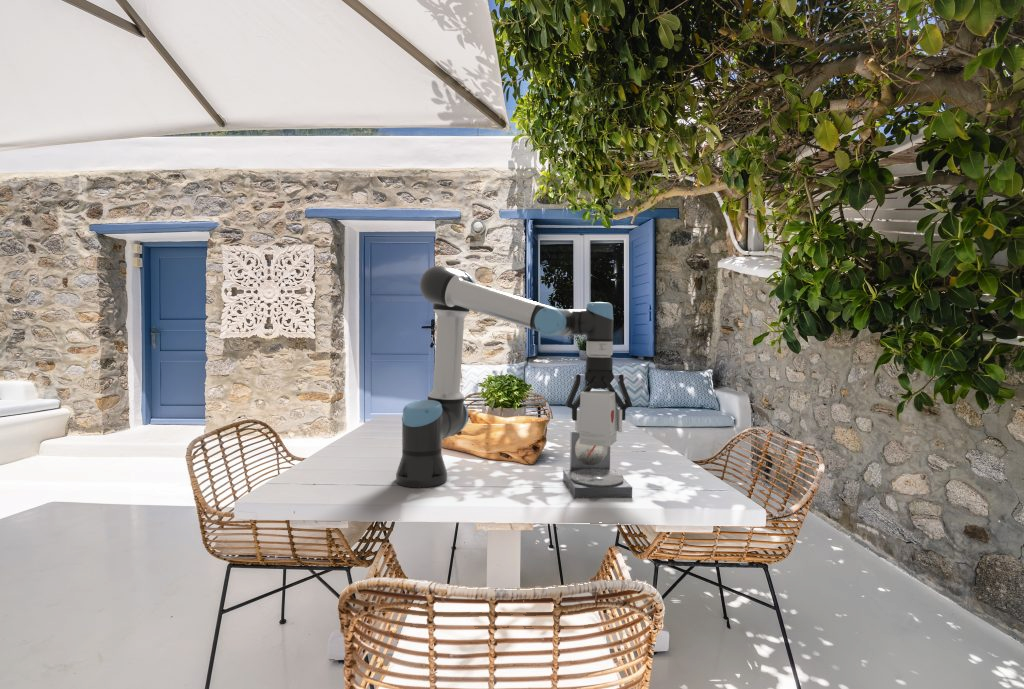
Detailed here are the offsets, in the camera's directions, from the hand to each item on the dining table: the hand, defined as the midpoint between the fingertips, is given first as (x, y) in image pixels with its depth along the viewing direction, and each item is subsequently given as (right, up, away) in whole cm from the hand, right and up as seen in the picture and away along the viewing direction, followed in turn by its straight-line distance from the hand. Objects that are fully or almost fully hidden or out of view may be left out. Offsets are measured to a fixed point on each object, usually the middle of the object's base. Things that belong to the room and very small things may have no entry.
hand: (598, 431), depth 151 cm
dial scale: (0, -17, +2) cm, 17 cm away
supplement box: (0, -3, 0) cm, 3 cm away
